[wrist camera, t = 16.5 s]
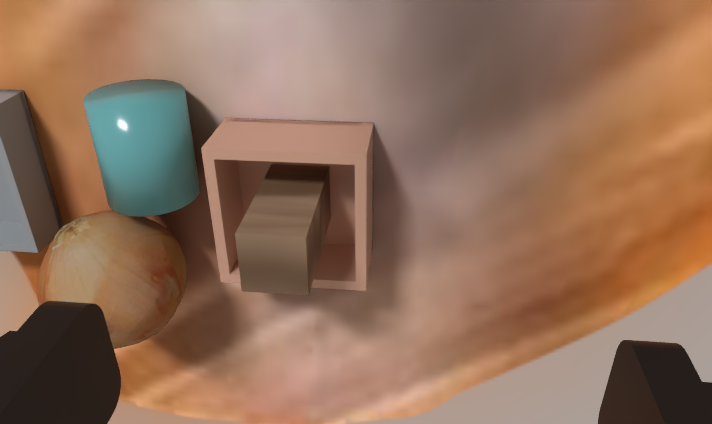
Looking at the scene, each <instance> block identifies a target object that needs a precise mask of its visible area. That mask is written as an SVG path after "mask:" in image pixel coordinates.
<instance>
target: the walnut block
mask: <svg viewBox="0 0 712 424" xmlns="http://www.w3.org/2000/svg"><path fill="white" fill-rule="evenodd" d="M330 218H331V207H330V170H329V167H325V166H303V165H281V164H271V166H270V168H269V170H268V172H267V174H266V176H265V178H264V180H263V181H262V183H261V185H260V187H259V189H258V191H257V193H256V195H255V197H254V198H253V200H252V202H251V204H250V206H249V208H248V210H247V212H246V214H245V216H244V217H243V219H242V221H241V223H240V225H239V227H238V229H237V231H236V233H235V239H236V247H237V255H238V263H239V272H240V280H241V288H242V291H247V292H262V293H277V294H292V295H307V296H309V293H310V289H311V286H312V282H313V279H314V275H315V272H316V268H317V265H318V261H319V257H320V254H321V250H322V247H323V243H324V240H325V236H326V233H327V229H328V225H329V222H330Z"/></svg>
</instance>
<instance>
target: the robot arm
mask: <svg viewBox="0 0 712 424" xmlns="http://www.w3.org/2000/svg"><path fill="white" fill-rule="evenodd" d="M120 388H121V376H120V370H119V367H118V363H117V360H116V356H115V352H114V349H113V345H112V342H111V338H110V335H109V331H108V327H107V324H106V320H105V317H104V314H103V311H102V309H101V308H100V307H99V306H98V305H97V304H93V303H78V302H63V301H47V302H44V303H43V304H41V305H40V306H39V307H38V308H37V309H36V310H35V311H34V313H33V314H32V315H31V316H30V317H29V318H28V319H27V321H26V322H25V323H24V324H23V325H22V326H21V328H19V330H18V331H9V332H7V333H6V334H4V335H3V336H1V337H0V424H107V423H108V421H109V419H110V418H111V416H112V414H113V412H114V410H115V408H116V405H117V402H118V399H119V395H120ZM598 424H712V383H709V382H702V381H701V379H700V377H699V375H698V373H697V372H696V370H695V368H694V366H693V364H692V362H691V360H690V358H689V356H688V354H687V353H686V351H685V349H684V348H683V347H682V346H681V345H679V344H677V343H662V342H648V341H632V340H623V341H622V342H621V343H620V344H619V346H618V348H617V351H616V355H615V358H614V362H613V366H612V369H611V373H610V376H609V380H608V383H607V387H606V390H605V394H604V397H603V401H602V404H601V408H600V412H599V418H598Z"/></svg>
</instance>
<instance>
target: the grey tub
mask: <svg viewBox="0 0 712 424" xmlns="http://www.w3.org/2000/svg"><path fill="white" fill-rule="evenodd" d="M62 227H63V223H62V220H61V217H60V213H59V210H58V206H57V203H56V200H55V196H54V193H53V189H52V186H51V183H50V179H49V176H48V172H47V169H46V166H45V162H44V159H43V155H42V152H41V149H40V145H39V142H38V138H37V135H36V132H35V128H34V125H33V121H32V118H31V115H30V111H29V108H28V104H27V101H26V98H25V94H24V91H23V90H0V251H16V252H33V253H39V252H40V251H41V250H42V249H43V248H44V247H45V246H46V245H47V244H48V243H49V242H50V241H51V240H52V239H53V238H54V237H55V235H56V234H57V232H58V231H59V230H60V229H61V228H62Z"/></svg>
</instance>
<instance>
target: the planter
mask: <svg viewBox="0 0 712 424" xmlns="http://www.w3.org/2000/svg"><path fill="white" fill-rule="evenodd" d="M201 151H202V158H203V165H204V171H205V178H206V185H207V192H208V198H209V205H210V212H211V219H212V225H213V232H214V239H215V246H216V252H217V259H218V266H219V273H220V280H221V282H227V283H241V280H240V272H239V263H238V255H237V247H236V239H235V233H236V231H237V229H238V227H239V225H240V223H241V221H242V219H243V217H244V216H245V214H246V212H247V210H248V208H249V206H250V204H251V202H252V200H253V198H254V197H255V195H256V193H257V191H258V189H259V187H260V185H261V183H262V181H263V180H264V178H265V176H266V174H267V172H268V170H269V168H270V166H271V164H281V165H303V166H325V167H329V170H330V207H331V218H330V222H329V225H328V229H327V233H326V236H325V240H324V243H323V247H322V250H321V254H320V257H319V261H318V265H317V268H316V272H315V275H314V279H313V282H312V286H311V288H325V289H342V290H358V291H366V289H367V282H368V275H369V269H370V262H371V255H372V235H373V123H361V122H332V121H302V120H273V119H243V118H225V119H224V120H223V122H222V123H221V124H220V125H219V127H218V128H217V129H216V130H215V132H214V133H213V134H212V135H211V136H210V138H209V139H208V140H207V141H206V143H205V144H204V145H203V146H202V148H201Z"/></svg>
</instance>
